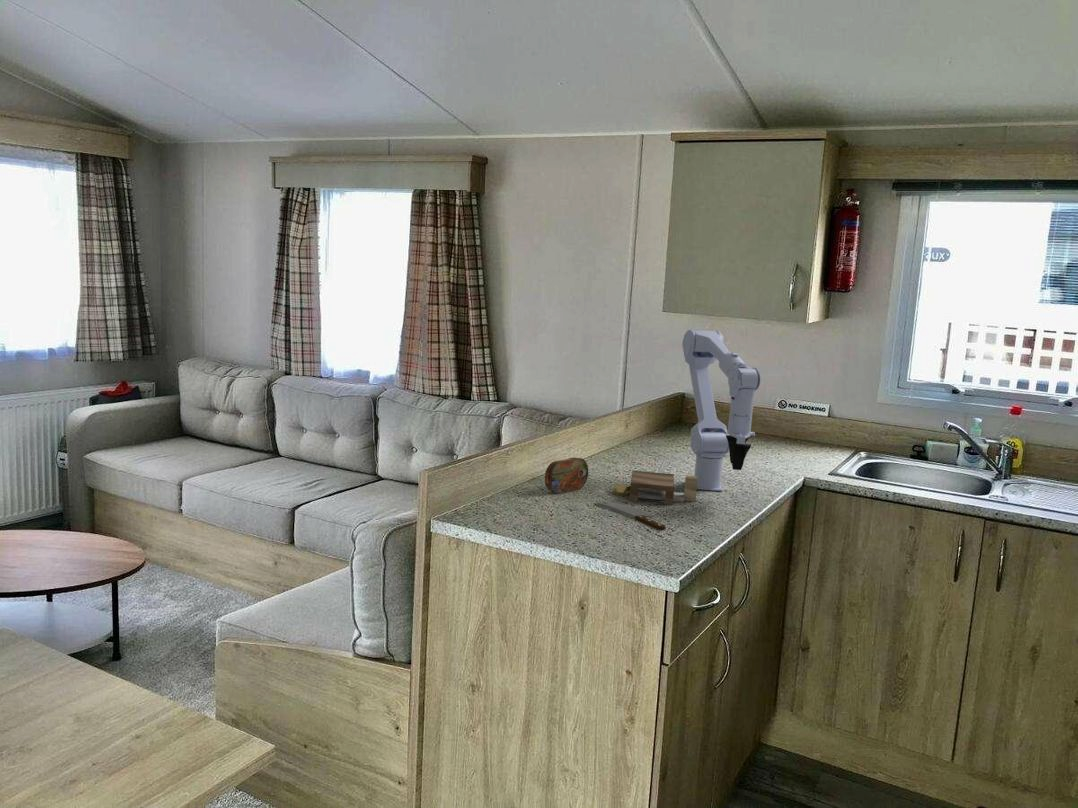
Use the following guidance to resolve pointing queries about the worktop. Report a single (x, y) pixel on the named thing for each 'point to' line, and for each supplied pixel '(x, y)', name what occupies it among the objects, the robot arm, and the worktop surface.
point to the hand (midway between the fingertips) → (735, 466)
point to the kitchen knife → (631, 513)
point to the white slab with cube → (687, 495)
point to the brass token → (621, 489)
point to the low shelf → (652, 484)
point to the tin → (566, 475)
